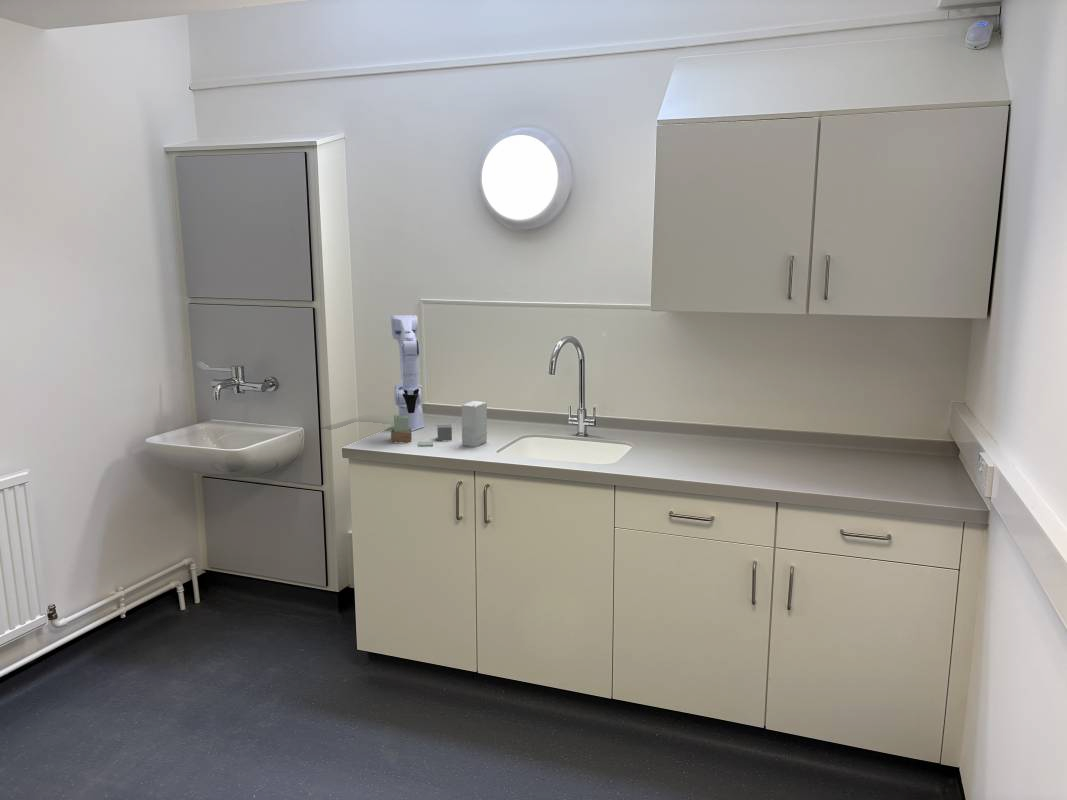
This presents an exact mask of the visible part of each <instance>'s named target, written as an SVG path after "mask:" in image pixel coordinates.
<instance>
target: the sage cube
mask: <svg viewBox="0 0 1067 800" xmlns="http://www.w3.org/2000/svg"><path fill="white" fill-rule="evenodd" d="M393 429H394V432H409V431H408V415H399V414H398V415H393Z"/></svg>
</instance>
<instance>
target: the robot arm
mask: <svg viewBox="0 0 1067 800" xmlns="http://www.w3.org/2000/svg"><path fill="white" fill-rule="evenodd" d="M418 322H419V321H418V315H416V314H411V315H410V314H409V315H406V314H405V315H403V314H402V315H400V314H399V315H394V314H393V315H391V317H390V323H391V336H392V338H393V339H394V340H396V341H397V344H398V345H399V347H398V349H399V362H400V363H399V364H400V375H401V376H400V379H401V380H400V381H399V382H398V383H396V384H395V386H394V404H395V405H396V406H398V415H408V428H411V432H413V431H417V430H419V429H422V428H425V426H426V425H424V416H423V415H424V413H423V408H422V406H421V403H422V390H421V389H422V388H423V385H421V384H420V383H419V381H420V378H419V377H420V375H419V374H420V373H419V355H420V342H419V339H417V335H418V328H419V326H418V324H419V323H418Z"/></svg>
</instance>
